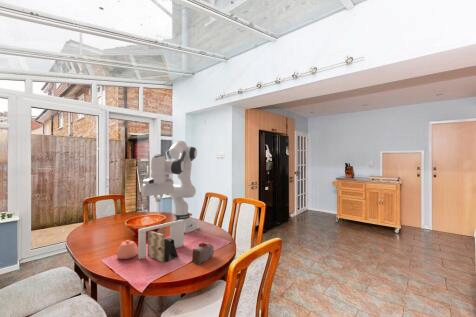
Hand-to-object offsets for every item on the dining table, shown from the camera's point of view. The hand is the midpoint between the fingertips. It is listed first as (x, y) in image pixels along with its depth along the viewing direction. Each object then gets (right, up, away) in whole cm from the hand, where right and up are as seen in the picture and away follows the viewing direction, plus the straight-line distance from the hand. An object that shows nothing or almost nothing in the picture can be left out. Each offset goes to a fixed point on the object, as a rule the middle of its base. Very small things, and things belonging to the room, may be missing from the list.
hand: (158, 201), depth 140 cm
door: (+1, -34, -5) cm, 34 cm away
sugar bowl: (-19, -34, -2) cm, 39 cm away
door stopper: (+8, -34, -4) cm, 36 cm away
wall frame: (+1, -34, +6) cm, 35 cm away
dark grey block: (+29, -35, -5) cm, 46 cm away
